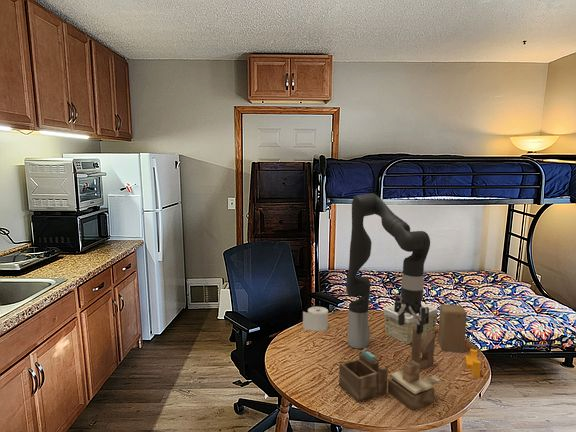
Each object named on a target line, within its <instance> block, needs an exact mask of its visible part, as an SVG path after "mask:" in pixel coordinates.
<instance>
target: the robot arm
mask: <svg viewBox="0 0 576 432" xmlns="http://www.w3.org/2000/svg"><path fill="white" fill-rule="evenodd" d="M373 215H377V216H378V217H380V218H381V220H380V222H381V225H382V228H383V229H384V230H385V231H386V232H387V233H388V234H389V235H390V236H392V237H393V238H394V239H395V241H396V243H397V244H398V246H399V248H400V249H402V250H403V251H405V252H408V253H411V255H409V256H406V257H405V258H404V259H403V261H402V262H403V264H402V277H401V288H400V289H401V290H400V296H399V295H397V296H395V298H394V299H395V300H394V305H395V307H394V311H395V312H397V313H398V315H399V317H398V323H399V325H400V326H401V325H404V323H405V315H404V314H405V313H409V314H411V315H413V318H414V319H415V320H416V322H417V329H416V334H418V335H419V334H422V333H423V325H425V324H428V323H429V308H428V307H422V305H421V302H422V303H423V298H424V285H425V280H424V273H425V271H424V270H425V269H424V268H425V262H426V260H427V256H428V253H429V251H430V248H431V238H430V236H429V234H428V233H427V232H426V231H424V230H416V231H411V226H410V225H409V224H408V222H406V221H404V220H403V219H402V218H401V217H399V216H398V215H397V214H395V213H394V212H393V211H392V210H391V209H390V207H389V206H388V205H387V204H386V203H385V202H384V201H383V200H382V199H381V197H380V196H378V195H377V194H375V193H372V192H369V193H364V194H358V195H355V196H354V197H353V198H352V201H351V235H350V243H349V261H348V262H349V263H348V271H347V276H346V277H347V278H346V284H345V287H346V288H345V290H346V293H347V296H349V297H359V298H356V299H355V300H352V301H350V302H349V304H348V324H347V325H348V327H347V329H348V330H347V345H349V346H350V347H351V348H354V349H364V348H367V347H368V346H369V345H370V330H371V329H370V327H371V326H370V325H369V309H370V308H369V307H370V293H371V282H370V281H371V280H370V278H369V277H368V276H357V275H358V272H359V271H360V269H361V268H362V267H363V266H364V265H365V264H366V263H367V261H369V259H370V257H371V253H372V239H371V237H370V236H369V234H368V233H367V231H366V229H365V227H364V218H365V217H368V216H373ZM402 305H403V306H402ZM416 314H419V315H416ZM419 319H420V320H419Z"/></svg>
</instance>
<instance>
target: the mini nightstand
mask: <svg viewBox="0 0 576 432" xmlns="http://www.w3.org/2000/svg"><path fill="white" fill-rule="evenodd" d="M358 356H359V358H355V359H352V360H348V361H345V362H341V363H339V371H338V372H339V373H338V375H339V377H338V386H339V387H340V388H341V389H342V390H344V392H345V393H347V394H348V395H349V396H350V397H351V398H352V399H354V401H356V402H357V403H361V402H364V401H366V400H369V399H372V398H376V397H381V396H382V397H383V395H387V394H388V380H389V379H388V377H389V376H388V375H389V366H388V365H385V366H384V367H381V368H380V360H379V359H377V358H376V357H375V361H370V360H369V359H367V358H366V357H365V356H363V355H362V354H359V355H358Z"/></svg>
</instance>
